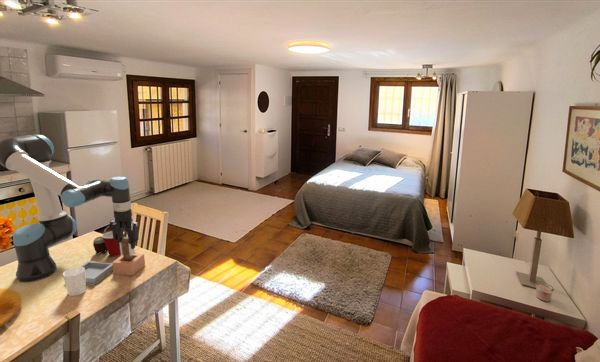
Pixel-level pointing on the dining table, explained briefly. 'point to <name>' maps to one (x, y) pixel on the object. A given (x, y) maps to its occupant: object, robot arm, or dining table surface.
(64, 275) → the white cup
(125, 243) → the walnut dowel
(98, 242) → the mate gourd
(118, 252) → the plastic cup
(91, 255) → the dining table surface
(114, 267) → the terracotta block
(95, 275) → the grey tray
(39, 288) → the dining table surface
